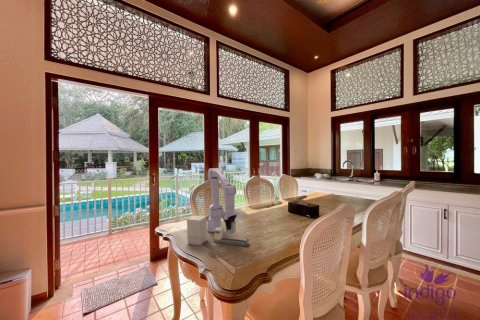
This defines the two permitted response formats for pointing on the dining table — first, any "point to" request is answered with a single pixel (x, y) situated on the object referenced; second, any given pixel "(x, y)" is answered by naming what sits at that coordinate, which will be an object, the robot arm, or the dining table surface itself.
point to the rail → (233, 241)
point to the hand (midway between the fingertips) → (230, 228)
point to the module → (232, 228)
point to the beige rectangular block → (218, 233)
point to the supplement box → (197, 230)
